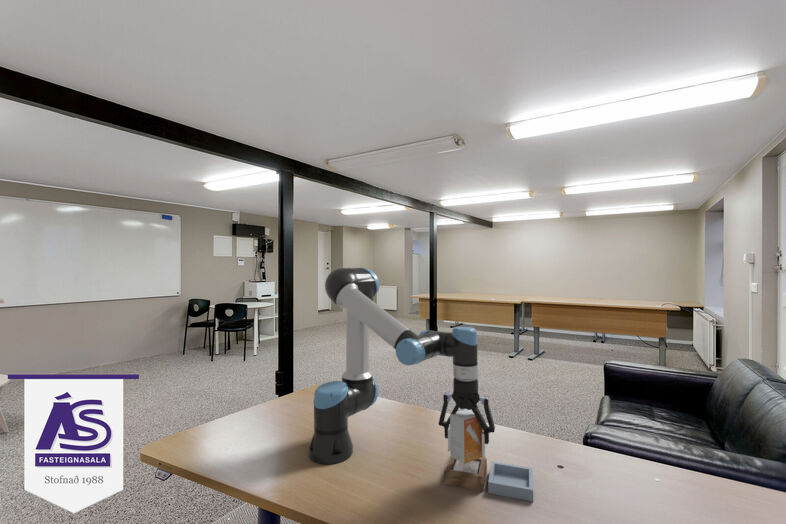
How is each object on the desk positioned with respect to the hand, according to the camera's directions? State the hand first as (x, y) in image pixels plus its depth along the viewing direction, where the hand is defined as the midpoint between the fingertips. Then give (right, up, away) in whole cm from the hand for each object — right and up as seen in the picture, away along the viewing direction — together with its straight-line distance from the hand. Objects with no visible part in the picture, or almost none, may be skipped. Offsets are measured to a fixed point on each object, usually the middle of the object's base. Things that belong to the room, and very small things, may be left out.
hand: (466, 451), depth 114 cm
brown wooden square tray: (0, -8, 0) cm, 8 cm away
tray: (+12, -8, -4) cm, 15 cm away
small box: (0, -2, 0) cm, 2 cm away
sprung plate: (0, -6, 0) cm, 6 cm away
